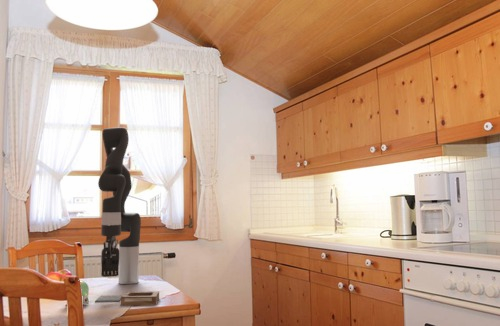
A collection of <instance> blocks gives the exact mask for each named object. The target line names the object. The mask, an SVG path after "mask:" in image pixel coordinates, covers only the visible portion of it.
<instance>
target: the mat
mask: <svg viewBox="0 0 500 326" xmlns="http://www.w3.org/2000/svg"><path fill="white" fill-rule="evenodd" d="M122 295H123V294H122ZM122 295H114V294H113V295H112V294H111V295H100V296H99V297H98V298H97V299H95V300H94V301H95V303H112V302H113V303H114V302H115V303H117V302H121V296H122Z"/></svg>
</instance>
